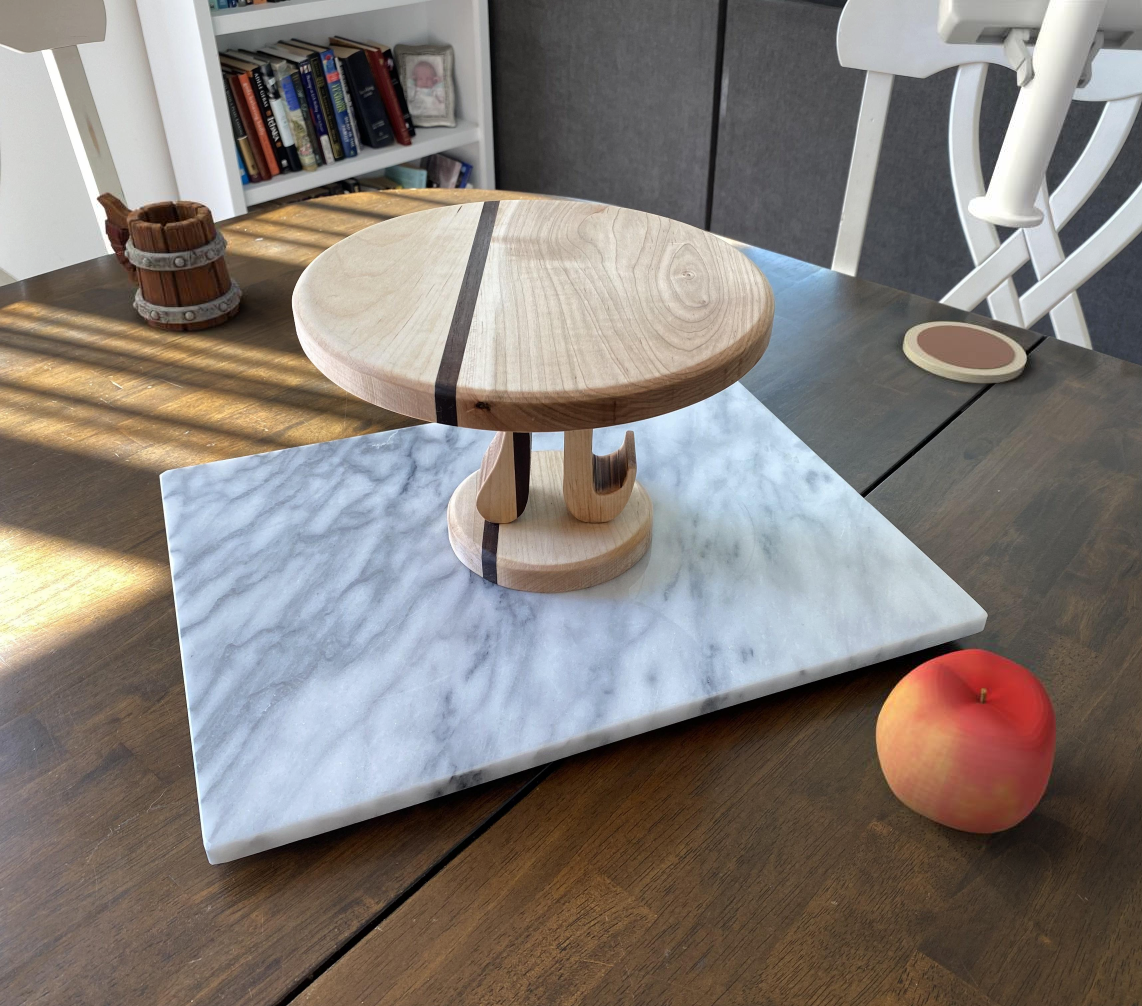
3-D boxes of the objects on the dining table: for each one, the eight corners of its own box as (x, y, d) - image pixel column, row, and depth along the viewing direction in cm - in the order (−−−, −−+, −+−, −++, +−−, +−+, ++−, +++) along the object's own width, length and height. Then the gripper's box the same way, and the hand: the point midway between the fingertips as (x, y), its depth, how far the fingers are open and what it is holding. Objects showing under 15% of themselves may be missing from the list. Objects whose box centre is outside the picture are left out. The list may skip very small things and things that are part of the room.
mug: (208, 341, 103) (156, 205, 95) (110, 340, 108) (53, 211, 100) (269, 300, 112) (227, 173, 104) (177, 300, 117) (129, 179, 109)
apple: (914, 713, 63) (953, 603, 57) (1052, 803, 57) (1111, 692, 51) (831, 793, 58) (865, 682, 52) (974, 901, 52) (1030, 790, 46)
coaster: (970, 324, 112) (973, 314, 111) (1049, 374, 102) (1053, 363, 101) (879, 339, 108) (881, 328, 107) (951, 392, 98) (955, 382, 97)
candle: (1056, 222, 92) (1169, -74, 77) (1013, 232, 89) (1121, -75, 74) (996, 199, 97) (1091, -84, 82) (952, 209, 93) (1043, -85, 78)
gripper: (951, -83, 84) (952, 58, 82) (1181, -76, 84) (1188, 66, 82) (926, -33, 90) (927, 99, 88) (1140, -26, 90) (1146, 107, 88)
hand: (1054, 83), depth 85 cm, fingers closed on candle, 3 cm apart
